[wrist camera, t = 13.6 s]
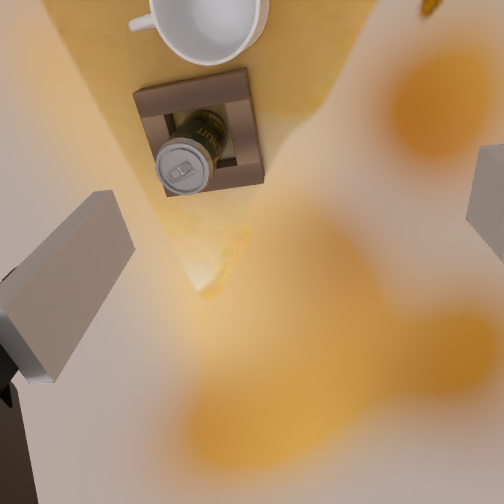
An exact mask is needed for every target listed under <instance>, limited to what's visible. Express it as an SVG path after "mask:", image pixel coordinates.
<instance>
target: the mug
mask: <svg viewBox="0 0 504 504" xmlns="http://www.w3.org/2000/svg"><path fill="white" fill-rule="evenodd" d="M149 5H150V11H151V13H149V14H146V15H143V16H140V17H137V18H135V19H132V20H130V21H129V23H128V24H129V28H130V30H131V31H132V32H138V31H143V30H148V29H152V28H157V30H158V32H159V34H160V36H161V37H162V39H163V40H164V42H165V43H166V44H167V45H168V46H169V48H170V49H171V50H173V51H174V52H175V53H176V54H177V55H179V56H180V57H182V58H183V59H185V60H187V61H189V62H192V63H195V64H199V65H206V66H211V65H218V64H222V63H225V62H227V61H229V60H231V59H233V58H234V57H236V56H237V55H238V54H239V53H240V52H242V51H243V50H245V49H247V48H248V47H250V46H251V45H252V44H253V43H254V42H255V41H256V40H257V39H258V38H259V36H260V35H261V33H262V31H263V29H264V27H265V25H266V22H267V18H268V13H269V0H149Z"/></svg>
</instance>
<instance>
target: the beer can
mask: <svg viewBox="0 0 504 504" xmlns="http://www.w3.org/2000/svg"><path fill="white" fill-rule="evenodd" d="M227 138H228V135H227V129H226V127H225V125H224V123H223V121H222V120H221V119H220V118H219V117H218V116H216V115H215V114H213V113H211V112H207V111H198V112H195V113H193V114H191V115H190V116H189V117H188V118H187V119H186V120H185V121H184V122H183V123H182V124H181V125H180V126H179V127H178V129H177V130H176V131H175V132H174V133H173V134H172V135H171V136H170V138H169V139H168V140H167V141H166V142H165V143H164V144H163V145H162V147H161V148H160V150H159V152H158V154H157V160H156V172H157V176H158V178H159V179H160V181H161V183H162V184H163V185H164V186H165V187H166V188H167V189H168V190H170V191H172V192H174V193H176V194H180V195H192V194H195V193H197V192H199V191H200V190H202V189H203V188H205V187H206V186H207V185H208V184H209V182H210V180H211V178H212V176H213V174H214V172H215V169H216V167H217V165H218V162H219V160H220V158H221V155H222V153H223V151H224V148H225V146H226V144H227Z"/></svg>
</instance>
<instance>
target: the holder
mask: <svg viewBox="0 0 504 504" xmlns="http://www.w3.org/2000/svg"><path fill="white" fill-rule="evenodd" d="M132 94H133V97H134V100H135V103H136V106H137V109H138V112H139V115H140V118H141V121H142V124H143V127H144V130H145V133H146V136H147V139H148V142H149V145H150V148H151V151H152V154H153V157H154V160H155V163H156V160H157V154H158V152H159V150H160V148H161V147H162V145H163V144H164V143H165V142H166V141H167V140H168V139H169V138H170V136H171V135H172V134H173V133H174V132H175V131H176V130H177V129H176V126H175V122H174V119H173V116H172V113H175V112H181V111H186V110H192V109H197V108H203V107H209V106H214V105H220V104H225V108H226V113H227V118H228V123H229V127H230V132H231V137H232V142H233V146H234V151H235V156H236V157H235V158H229V159H223V160H219V162H218V165H217V167H216V169H215V172H214V174H213V176H212V178H211V180H210V182H209V184H208V185H207V186H206V187H205V188H203V189H202V190H200V191H199V192H197V193H200V192H207V191H214V190H221V189H228V188H235V187H242V186H249V185H256V184H263V183H264V176H265V173H264V167H263V161H262V155H261V149H260V143H259V137H258V132H257V126H256V120H255V114H254V108H253V102H252V97H251V91H250V85H249V79H248V73H247V68H243V69H238V70H233V71H228V72H223V73H218V74H213V75H207V76H202V77H197V78H192V79H187V80H182V81H177V82H171V83H166V84H161V85H156V86H151V87H146V88H141V89H139V90H138V91H136V92H134V93H132ZM163 187H164V190H165V193H166V196H167V197H171V196H178V195H180V194H176V193H174V192H172V191H170V190H168V189H167V188H166V187H165V186H164V185H163Z"/></svg>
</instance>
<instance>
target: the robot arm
mask: <svg viewBox="0 0 504 504" xmlns="http://www.w3.org/2000/svg"><path fill="white" fill-rule="evenodd" d="M466 220H467V221H468V222H469V223H470V225H471V226H472V227H473V228H474V229H475V230H476V231H477V233H478V234H479V235H480V236H481V237H482V239H483V240H484V241H485V242H486V243H487V244H488V246H489V247H490V248H491V249H492V250H493V251H494V253H495V254H496V255H497V256H498V257H499V258H500V259H501V261H502V262H503V263H504V144H497V145H488V146H481V147H480V148H479V153H478V158H477V163H476V168H475V174H474V179H473V184H472V189H471V194H470V199H469V205H468V210H467V215H466ZM134 250H135V247H134V245H133V242H132V240H131V237H130V235H129V232H128V229H127V227H126V224H125V222H124V220H123V217H122V214H121V211H120V209H119V206H118V204H117V201H116V199H115V196H114V193H113V191H112V190H105V191H97V192H93V193H92V194H91V195H90V196H89V197H88V198H87V199H86V200H85V201H84V202H83V203H82V204H81V205H80V206H79V207H78V208H77V209H76V210H75V211H74V212H73V213H72V214H71V215H70V216H69V217H68V218H67V219H66V220H65V221H64V222H63V223H62V224H61V225H60V226H58V228H56V229H55V230H54V231H53V232H52V233H51V234H50V235H49V236H48V237H47V238H46V240H44V241H43V242H42V243H41V244H40V245H39V246H38V247H37V248H36V249H35V250H34V251H33V252H32V253H31V254H30V255H29V256H28V257H27V258H26V259H25V260H24V261H23V262H22V263H21V264H20V265H19V266H18V267H16V268H14V269H13V270H12V271H11V272H10V273H9V274H8V275H7V276H6V277H5V278H4V279H2V282H1V283H0V504H38V499H37V493H36V488H35V483H34V477H33V472H32V467H31V461H30V456H29V451H28V445H27V440H26V435H25V429H24V424H23V419H22V413H21V408H20V403H19V397H18V392H17V389H16V387H15V386H14V384H13V383H12V382H11V379H12V378H13V377H14V375H15V374H16V372H17V371H18V370H19V371H20V372H21V373H22V375H23V376H24V377H25V379H26V380H27V381H28V383H29V384H34V383H55V381H56V380H57V378H58V376H59V374H60V373H61V371H62V370H63V368H64V366H65V365H66V363H67V361H68V360H69V358H70V356H71V355H72V353H73V351H74V350H75V348H76V346H77V345H78V343H79V342H80V340H81V338H82V337H83V335H84V333H85V332H86V330H87V328H88V327H89V325H90V323H91V322H92V320H93V318H94V317H95V315H96V313H97V312H98V310H99V308H100V307H101V305H102V303H103V302H104V300H105V299H106V297H107V295H108V294H109V292H110V290H111V289H112V287H113V285H114V284H115V282H116V280H117V279H118V277H119V275H120V274H121V272H122V270H123V269H124V267H125V265H126V264H127V262H128V261H129V259H130V257H131V256H132V254H133V252H134Z"/></svg>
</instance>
